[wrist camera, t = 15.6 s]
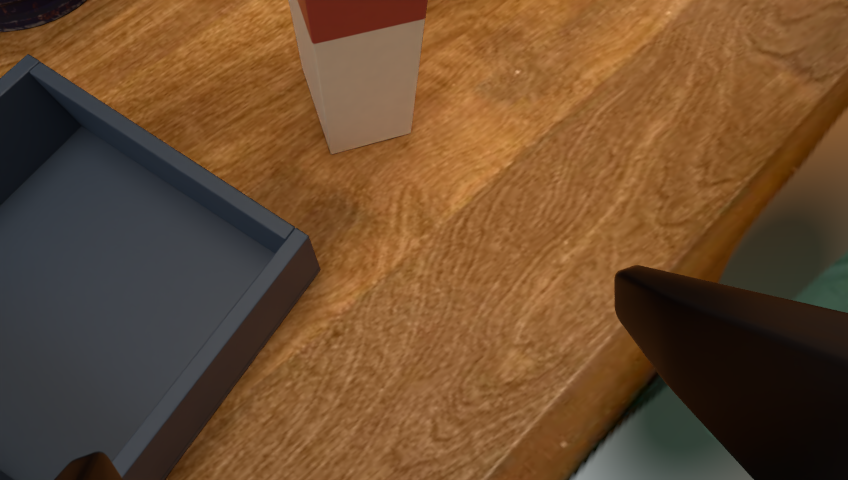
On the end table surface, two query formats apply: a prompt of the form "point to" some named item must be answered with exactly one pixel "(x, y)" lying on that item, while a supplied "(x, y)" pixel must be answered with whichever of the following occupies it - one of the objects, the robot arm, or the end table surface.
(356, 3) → the plate
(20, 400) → the box
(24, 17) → the dark blue cylinder
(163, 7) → the end table surface
